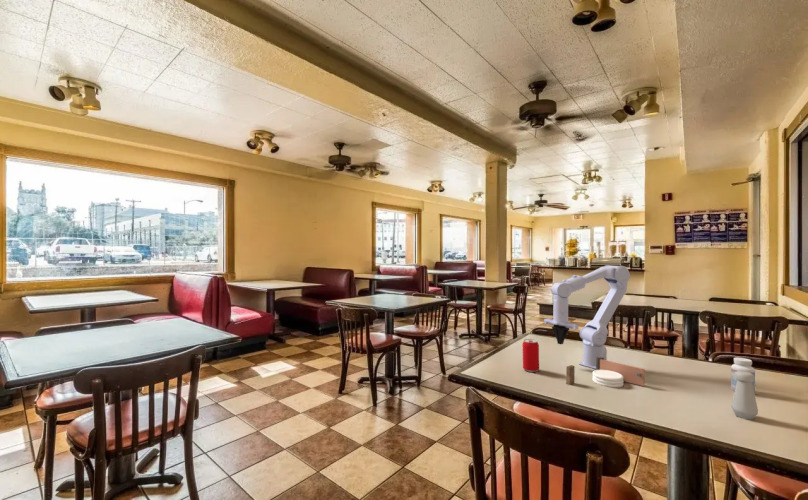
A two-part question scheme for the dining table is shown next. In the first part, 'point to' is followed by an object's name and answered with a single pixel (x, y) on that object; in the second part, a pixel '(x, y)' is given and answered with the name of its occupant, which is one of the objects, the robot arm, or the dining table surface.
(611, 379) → the white short cylinder
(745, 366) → the pill bottle
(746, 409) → the salt shaker
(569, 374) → the wall frame
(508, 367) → the dining table surface
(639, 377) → the door
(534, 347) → the beverage can
